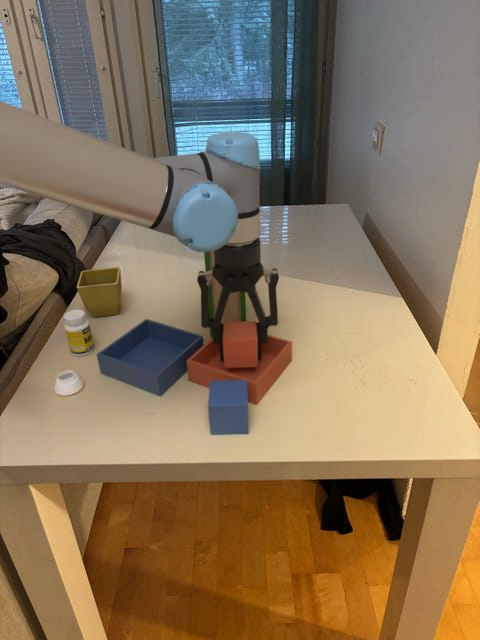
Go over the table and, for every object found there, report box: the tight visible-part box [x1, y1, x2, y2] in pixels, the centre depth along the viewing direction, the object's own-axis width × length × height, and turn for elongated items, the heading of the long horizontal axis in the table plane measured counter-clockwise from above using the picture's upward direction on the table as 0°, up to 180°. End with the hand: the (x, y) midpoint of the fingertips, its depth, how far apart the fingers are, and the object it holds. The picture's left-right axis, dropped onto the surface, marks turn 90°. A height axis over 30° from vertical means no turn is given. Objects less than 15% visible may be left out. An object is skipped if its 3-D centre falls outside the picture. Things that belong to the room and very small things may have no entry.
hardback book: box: [203, 251, 247, 340], centre depth 97 cm, size 18×7×24 cm, turn 3°
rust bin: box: [187, 334, 293, 406], centre depth 86 cm, size 14×14×4 cm
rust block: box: [223, 320, 258, 368], centre depth 84 cm, size 6×6×6 cm
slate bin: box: [96, 318, 205, 397], centre depth 89 cm, size 14×14×4 cm
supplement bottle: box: [63, 309, 95, 357], centre depth 93 cm, size 5×5×8 cm
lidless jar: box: [53, 369, 85, 397], centre depth 84 cm, size 5×3×5 cm
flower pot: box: [76, 266, 123, 318], centre depth 106 cm, size 9×9×9 cm
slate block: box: [207, 380, 249, 436], centre depth 74 cm, size 6×6×6 cm
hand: (241, 356), depth 86 cm, fingers closed on rust block, 6 cm apart
